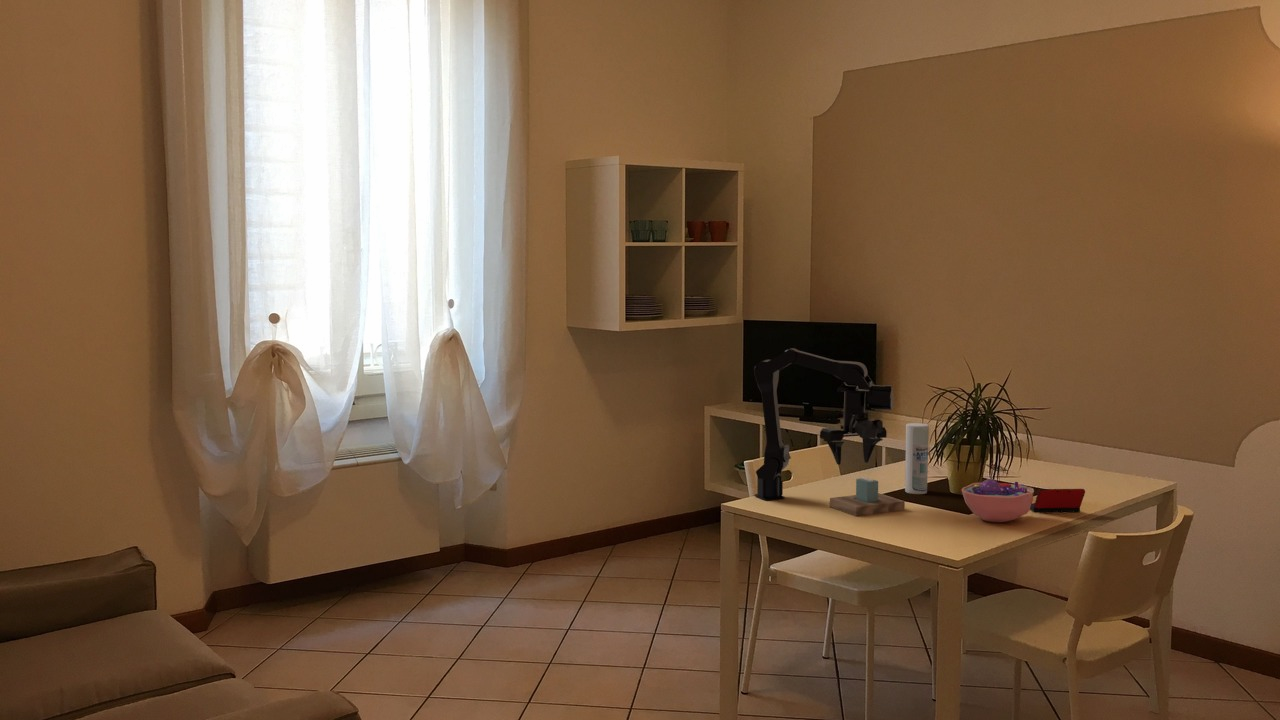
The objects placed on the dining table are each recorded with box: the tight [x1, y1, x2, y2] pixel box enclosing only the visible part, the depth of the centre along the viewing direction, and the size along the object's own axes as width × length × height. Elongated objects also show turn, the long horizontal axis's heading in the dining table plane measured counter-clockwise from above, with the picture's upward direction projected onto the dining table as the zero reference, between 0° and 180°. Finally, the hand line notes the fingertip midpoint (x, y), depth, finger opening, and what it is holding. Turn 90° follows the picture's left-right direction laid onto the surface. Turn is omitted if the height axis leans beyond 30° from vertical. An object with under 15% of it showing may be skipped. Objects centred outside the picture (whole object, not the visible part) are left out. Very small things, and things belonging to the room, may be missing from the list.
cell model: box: [961, 478, 1035, 523], centre depth 264 cm, size 17×20×11 cm
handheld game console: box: [1029, 488, 1086, 514], centre depth 274 cm, size 12×11×7 cm
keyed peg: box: [855, 476, 879, 503], centre depth 277 cm, size 5×4×8 cm
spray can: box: [904, 422, 930, 495], centre depth 297 cm, size 6×6×20 cm
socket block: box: [829, 492, 906, 517], centre depth 277 cm, size 16×12×2 cm
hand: (852, 463), depth 281 cm, fingers open, 9 cm apart
